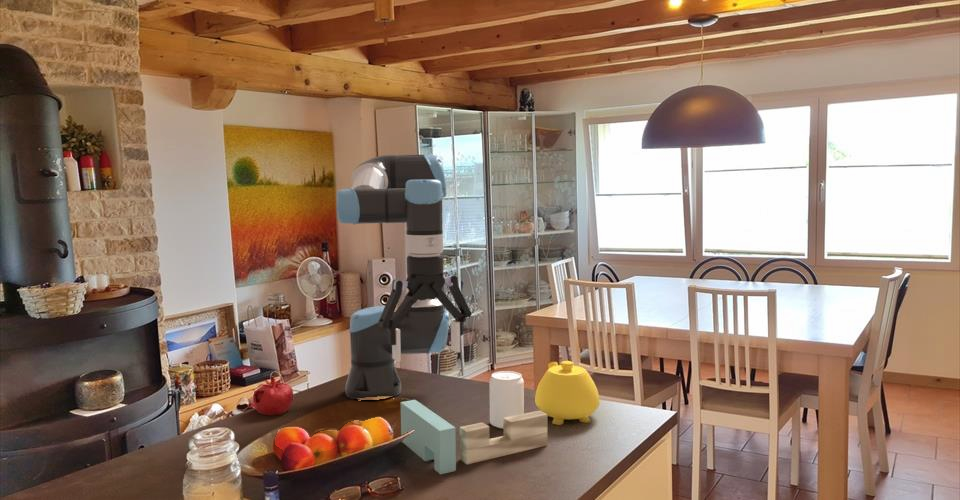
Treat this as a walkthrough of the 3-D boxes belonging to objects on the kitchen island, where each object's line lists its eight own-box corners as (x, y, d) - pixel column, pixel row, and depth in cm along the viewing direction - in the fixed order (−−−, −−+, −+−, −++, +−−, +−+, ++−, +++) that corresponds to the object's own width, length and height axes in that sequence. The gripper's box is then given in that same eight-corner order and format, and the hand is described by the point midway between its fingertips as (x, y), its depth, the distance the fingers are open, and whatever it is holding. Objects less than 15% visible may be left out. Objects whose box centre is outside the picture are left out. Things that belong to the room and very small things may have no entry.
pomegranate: (296, 404, 181) (296, 369, 181) (290, 417, 172) (290, 380, 171) (257, 405, 180) (256, 370, 179) (249, 418, 170) (248, 381, 170)
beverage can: (521, 431, 160) (521, 381, 159) (486, 429, 162) (486, 379, 161) (526, 419, 168) (525, 371, 167) (493, 417, 170) (492, 369, 168)
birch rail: (460, 459, 145) (459, 427, 144) (539, 440, 155) (539, 410, 154) (466, 464, 142) (466, 431, 142) (547, 445, 152) (547, 414, 151)
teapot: (523, 403, 180) (523, 351, 179) (580, 398, 183) (581, 347, 182) (545, 430, 161) (545, 373, 159) (609, 425, 164) (609, 368, 162)
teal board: (401, 441, 155) (400, 402, 154) (415, 438, 157) (415, 399, 156) (440, 474, 138) (439, 430, 137) (455, 470, 140) (455, 427, 139)
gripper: (374, 260, 133) (377, 368, 136) (486, 252, 146) (487, 351, 148) (360, 256, 140) (363, 359, 142) (469, 249, 152) (470, 343, 154)
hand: (426, 355), depth 145 cm, fingers open, 13 cm apart
